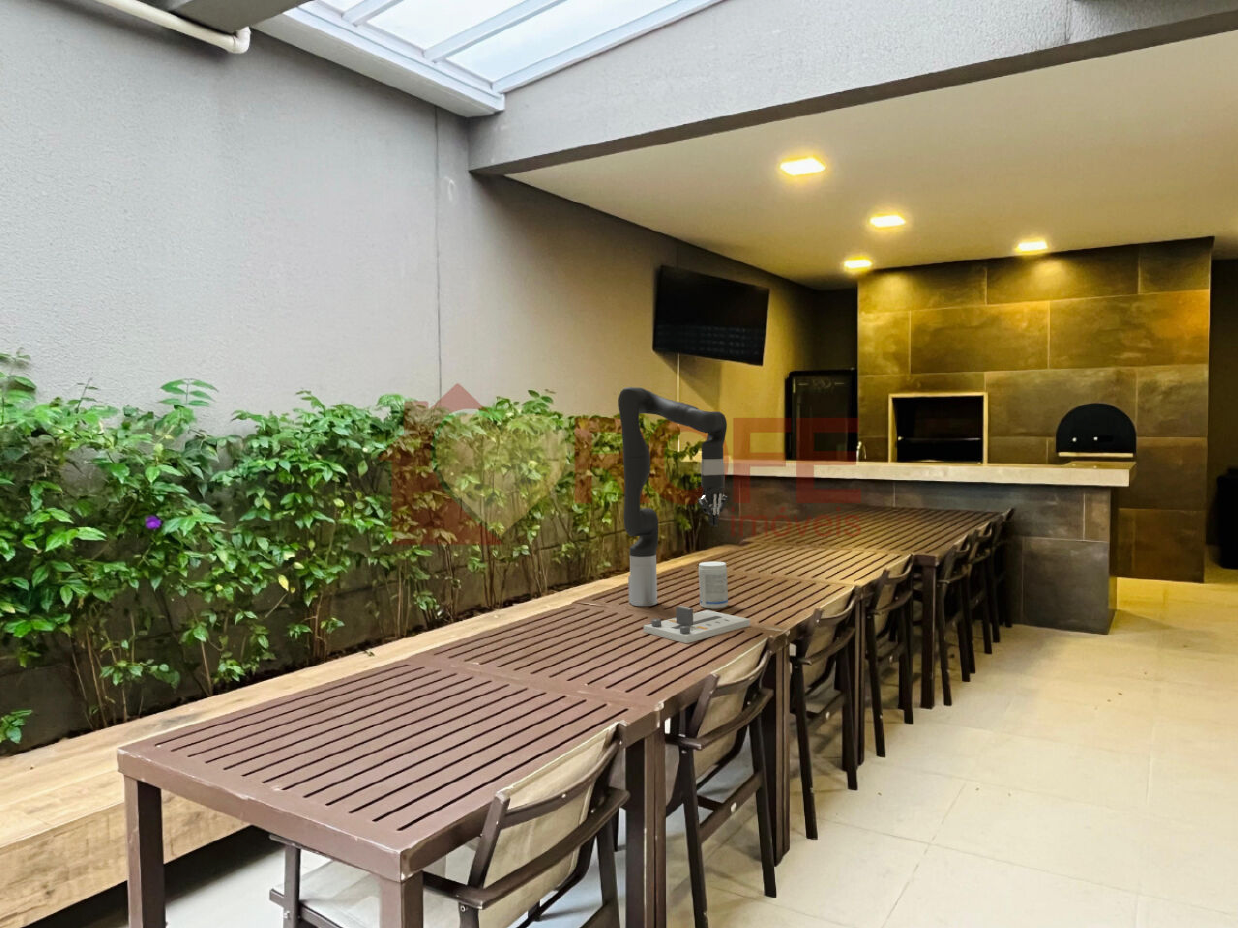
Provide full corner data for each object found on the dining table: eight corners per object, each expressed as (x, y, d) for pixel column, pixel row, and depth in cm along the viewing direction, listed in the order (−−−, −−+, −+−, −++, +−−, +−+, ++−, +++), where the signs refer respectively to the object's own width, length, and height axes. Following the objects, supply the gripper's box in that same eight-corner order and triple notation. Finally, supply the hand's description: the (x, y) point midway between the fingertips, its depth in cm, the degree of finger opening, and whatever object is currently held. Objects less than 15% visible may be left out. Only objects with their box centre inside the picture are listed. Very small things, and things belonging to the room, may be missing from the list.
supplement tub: (733, 605, 281) (732, 563, 280) (715, 610, 274) (715, 567, 274) (711, 601, 288) (710, 560, 287) (693, 606, 281) (693, 563, 281)
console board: (643, 632, 249) (643, 619, 249) (707, 616, 267) (706, 604, 267) (686, 643, 235) (686, 630, 235) (750, 625, 254) (749, 613, 254)
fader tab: (676, 623, 249) (676, 606, 249) (681, 622, 250) (681, 605, 250) (688, 626, 245) (688, 608, 245) (693, 625, 247) (692, 607, 246)
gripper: (717, 471, 275) (718, 523, 276) (690, 473, 266) (691, 527, 267) (735, 472, 269) (736, 524, 270) (707, 474, 260) (708, 529, 261)
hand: (713, 525), depth 268 cm, fingers closed
